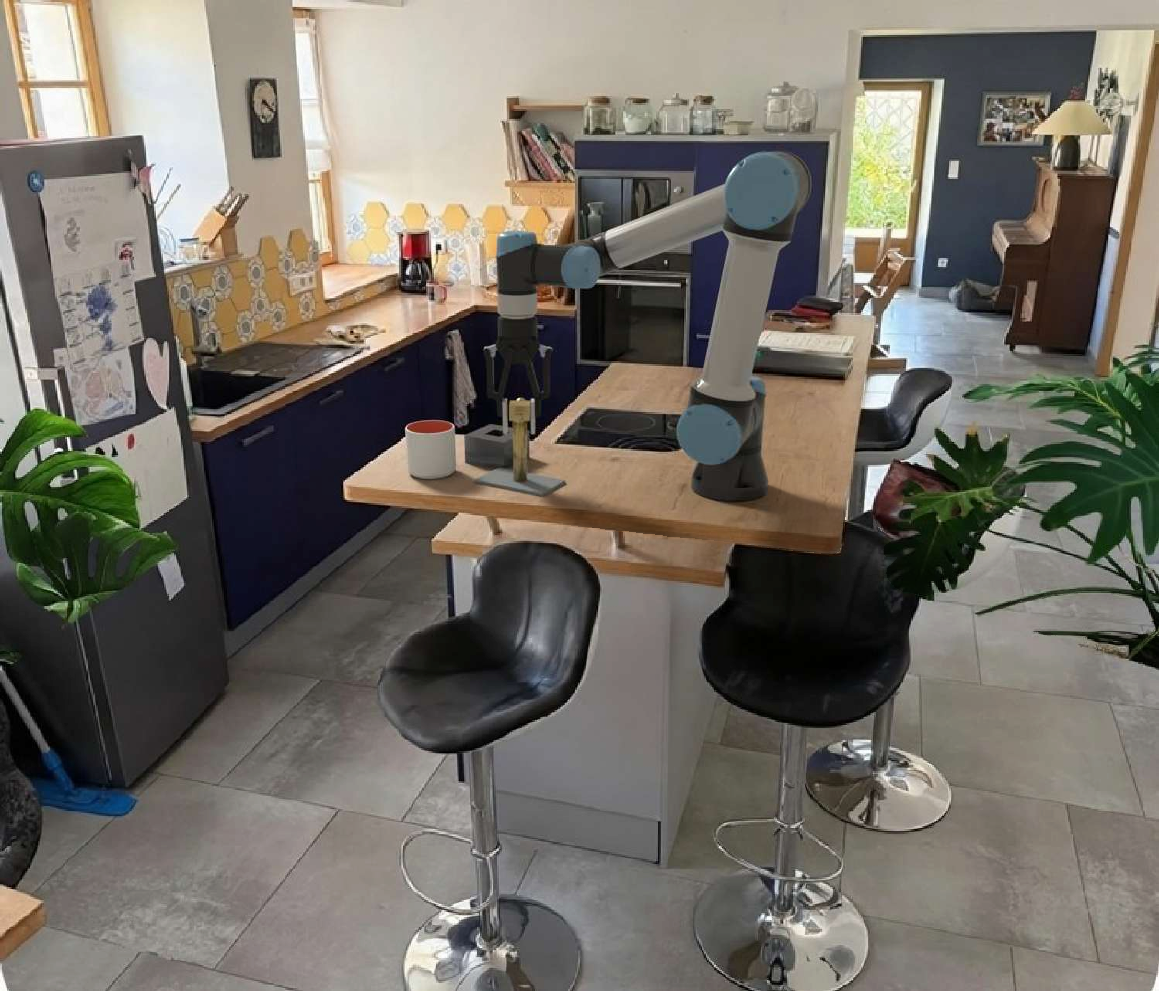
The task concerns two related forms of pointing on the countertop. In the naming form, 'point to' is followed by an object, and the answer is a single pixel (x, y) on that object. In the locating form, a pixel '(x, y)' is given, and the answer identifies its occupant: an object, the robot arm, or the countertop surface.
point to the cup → (430, 449)
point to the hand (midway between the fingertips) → (519, 431)
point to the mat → (531, 486)
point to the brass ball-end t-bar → (519, 437)
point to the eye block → (491, 447)
